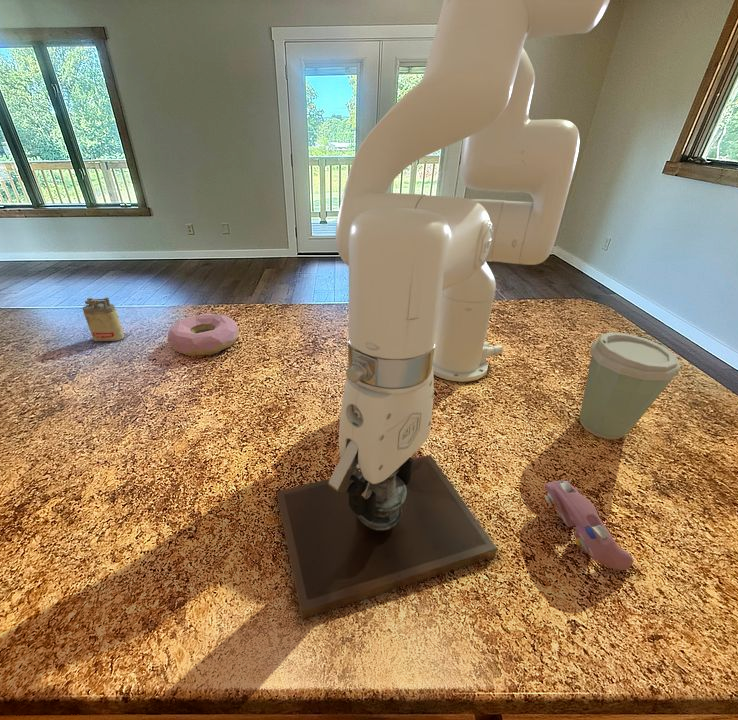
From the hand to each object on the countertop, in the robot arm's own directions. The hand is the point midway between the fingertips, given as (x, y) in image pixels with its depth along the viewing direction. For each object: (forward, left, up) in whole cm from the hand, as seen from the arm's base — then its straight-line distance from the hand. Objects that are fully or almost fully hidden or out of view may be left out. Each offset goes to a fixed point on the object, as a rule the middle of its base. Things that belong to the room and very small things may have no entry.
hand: (380, 493), depth 43 cm
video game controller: (-22, +8, -6) cm, 24 cm away
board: (0, 0, -6) cm, 6 cm away
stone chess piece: (0, 0, -3) cm, 3 cm away
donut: (+20, -56, -6) cm, 60 cm away
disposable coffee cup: (-41, -6, -6) cm, 42 cm away
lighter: (+42, -66, -6) cm, 78 cm away
